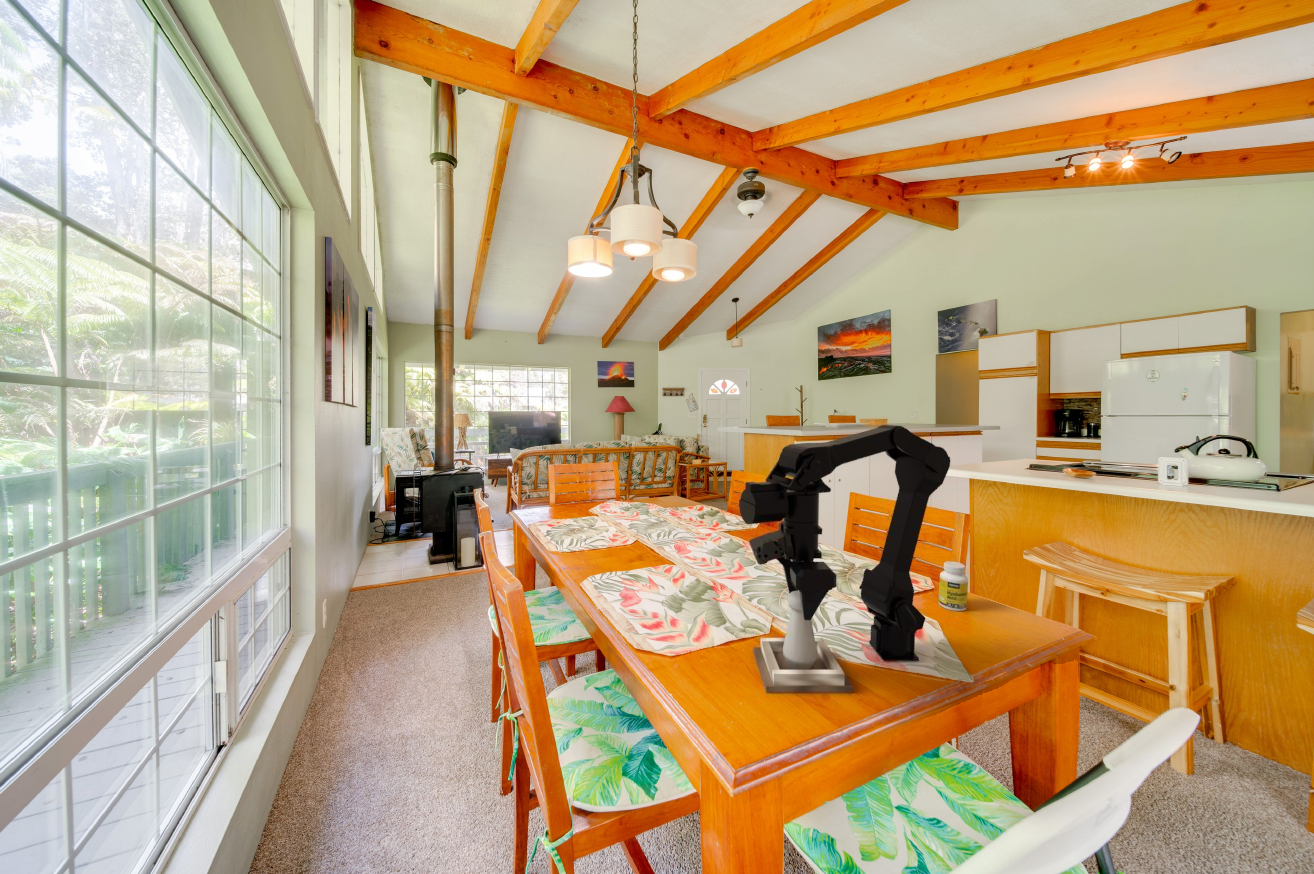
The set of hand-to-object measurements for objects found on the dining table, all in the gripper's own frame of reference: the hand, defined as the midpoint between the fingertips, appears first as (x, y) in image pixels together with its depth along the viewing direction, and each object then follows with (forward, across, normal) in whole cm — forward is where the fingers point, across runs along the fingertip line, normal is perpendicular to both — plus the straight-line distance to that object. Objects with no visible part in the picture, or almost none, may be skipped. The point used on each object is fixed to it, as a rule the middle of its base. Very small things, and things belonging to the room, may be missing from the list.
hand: (799, 607), depth 82 cm
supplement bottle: (+12, -25, +41) cm, 50 cm away
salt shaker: (+11, 0, 0) cm, 11 cm away
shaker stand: (+12, 0, 0) cm, 12 cm away
